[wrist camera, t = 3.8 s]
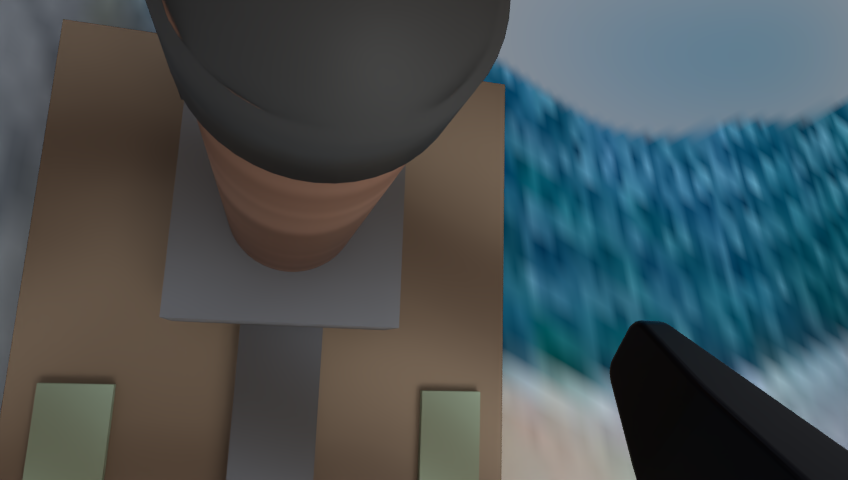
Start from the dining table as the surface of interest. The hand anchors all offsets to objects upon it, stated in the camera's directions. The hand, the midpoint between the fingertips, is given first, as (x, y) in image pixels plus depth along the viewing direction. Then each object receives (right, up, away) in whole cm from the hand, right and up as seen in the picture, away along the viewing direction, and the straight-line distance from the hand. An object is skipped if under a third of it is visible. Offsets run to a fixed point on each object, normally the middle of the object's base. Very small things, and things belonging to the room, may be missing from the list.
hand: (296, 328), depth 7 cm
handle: (-2, +1, +8) cm, 8 cm away
